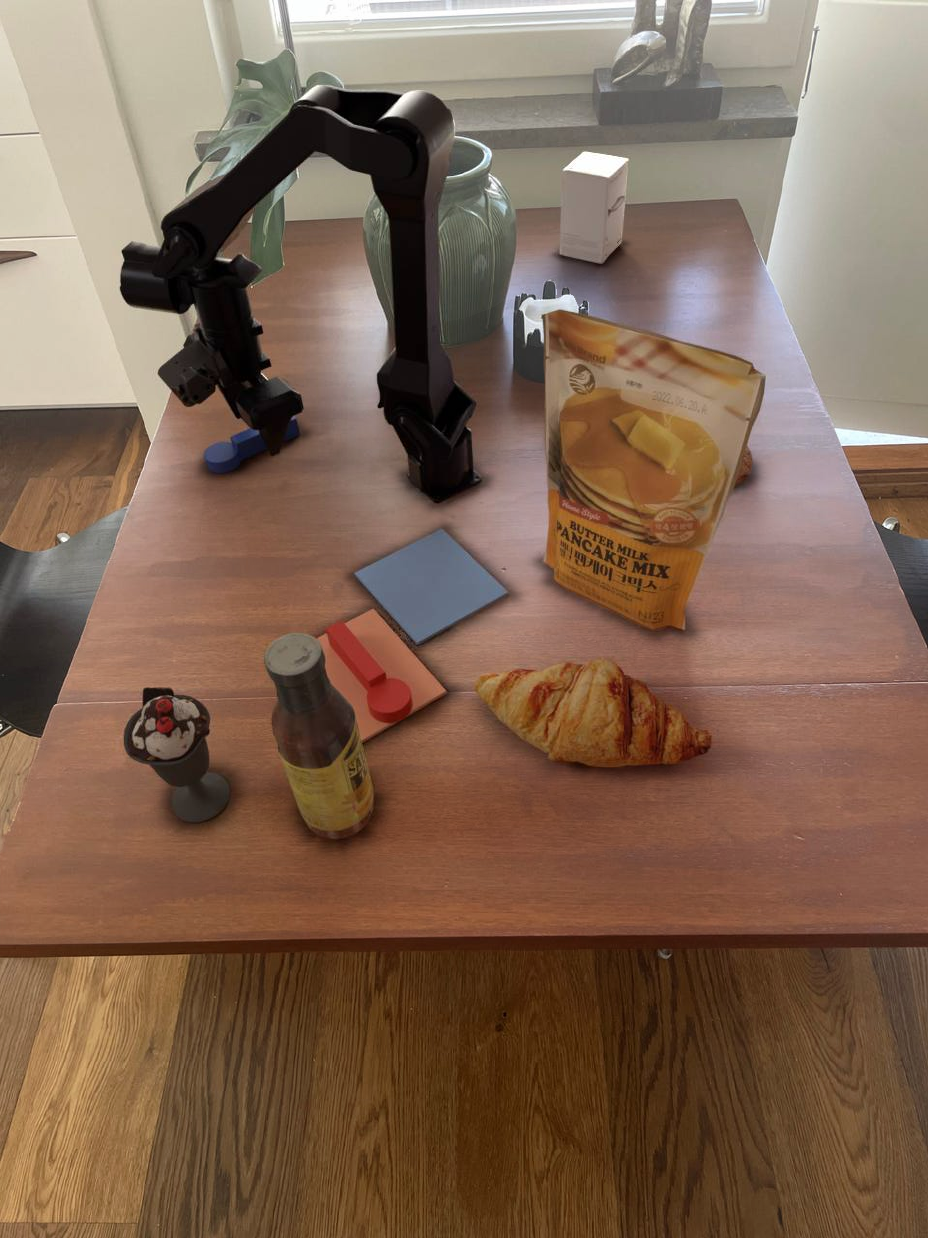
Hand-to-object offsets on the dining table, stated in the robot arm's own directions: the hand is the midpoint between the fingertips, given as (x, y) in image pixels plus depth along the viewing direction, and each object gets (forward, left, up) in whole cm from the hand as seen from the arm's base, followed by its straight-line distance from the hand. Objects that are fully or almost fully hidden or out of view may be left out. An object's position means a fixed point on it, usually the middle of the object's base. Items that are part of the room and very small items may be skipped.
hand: (257, 435), depth 110 cm
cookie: (-39, +35, -2) cm, 52 cm away
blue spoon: (0, 0, -2) cm, 2 cm away
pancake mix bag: (-18, +44, -2) cm, 47 cm away
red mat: (+8, +38, -2) cm, 39 cm away
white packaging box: (-62, -12, -2) cm, 63 cm away
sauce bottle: (+17, +49, -2) cm, 52 cm away
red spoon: (+8, +38, -1) cm, 39 cm away
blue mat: (-4, +32, -2) cm, 32 cm away
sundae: (+26, +41, -2) cm, 49 cm away
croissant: (-5, +55, -2) cm, 55 cm away
